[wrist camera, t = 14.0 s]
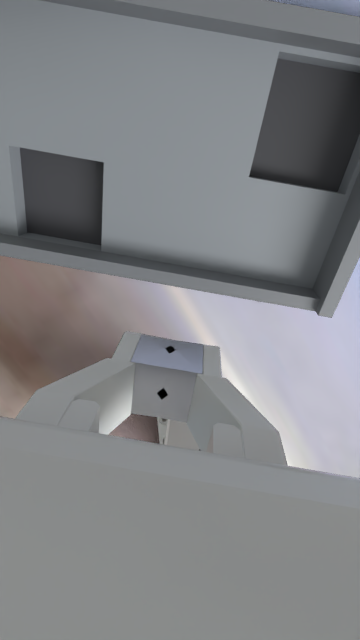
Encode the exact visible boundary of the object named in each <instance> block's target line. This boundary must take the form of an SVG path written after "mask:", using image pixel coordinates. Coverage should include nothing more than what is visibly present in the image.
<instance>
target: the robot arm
mask: <svg viewBox="0 0 360 640" xmlns="http://www.w3.org/2000/svg"><path fill="white" fill-rule="evenodd" d="M131 413H132V414H139V415H146V416H153V417H157V422H158V432H159V442H160V444H158V443H152V442H146V441H141V440H135V439H129V438H123V437H117V436H112V435H108V434H109V433H110V432H111V431H112V430H114V429H115V428H116V427H117V426H118V425H119V424H120V423H122V422H123V421H124V420H125V419H126V418H127V417H129V416H130V415H131ZM164 418H165V419H164ZM0 640H360V478H356V477H350V476H344V475H338V474H332V473H327V472H321V471H315V470H309V469H303V468H297V467H292V466H288V465H287V461H286V457H285V453H284V449H283V446H282V442H281V438H280V434H279V432H278V431H277V430H276V429H275V428H274V426H273V425H272V424H271V423H270V422H269V421H268V420H267V419H266V418H265V417H264V416H263V415H262V414H261V413H260V412H259V411H258V410H257V409H256V408H255V407H254V406H253V405H252V404H251V403H250V402H249V401H248V400H247V399H246V398H245V397H244V396H243V395H242V394H241V393H240V392H239V391H238V390H237V389H236V388H235V387H234V386H233V385H232V384H231V383H230V381H229V380H228V379H227V378H222V371H221V356H220V348H219V347H218V346H211V345H203V344H197V343H190V342H183V341H176V340H172V339H166V338H161V337H156V336H150V335H145V334H141V333H134V332H128V331H126V332H125V333H124V334H123V336H122V338H121V340H120V342H119V344H118V346H117V348H116V350H115V352H114V354H113V356H112V358H111V359H110V358H106V359H104V360H101V361H99V362H97V363H95V364H93V365H90V366H88V367H86V368H84V369H82V370H80V371H77V372H75V373H73V374H71V375H69V376H66V377H64V378H62V379H60V380H58V381H56V382H53V383H51V384H49V385H47V386H45V387H42V388H40V389H38V390H36V392H35V393H34V394H33V396H32V397H31V398H30V400H29V401H28V402H27V404H26V405H25V406H24V407H23V409H22V410H21V411H20V413H19V414H18V415H17V417H16V418H15V419H13V418H7V417H1V416H0Z"/></svg>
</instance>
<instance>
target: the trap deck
mask: <svg viewBox="0 0 360 640" xmlns="http://www.w3.org/2000/svg"><path fill="white" fill-rule="evenodd" d="M0 255H1V256H7V257H12V258H18V259H24V260H29V261H35V262H41V263H46V264H52V265H57V266H63V267H69V268H74V269H80V270H86V271H91V272H97V273H103V274H108V275H114V276H119V277H125V278H131V279H136V280H142V281H148V282H153V283H159V284H165V285H170V286H176V287H181V288H187V289H193V290H198V291H204V292H210V293H215V294H221V295H227V296H232V297H238V298H243V299H249V300H255V301H260V302H266V303H272V304H277V305H283V306H289V307H294V308H300V309H305V310H311V311H316V313H317V314H318V315H319V316H324V317H330V318H332V316H333V314H334V312H335V310H336V307H337V305H338V303H339V301H340V299H341V297H342V294H343V292H344V290H345V288H346V286H347V283H348V281H349V279H350V277H351V275H352V272H353V270H354V268H355V266H356V264H357V262H358V259H359V257H360V17H358V16H352V15H347V14H341V13H335V12H330V11H324V10H319V9H313V8H308V7H302V6H296V5H291V4H285V3H280V2H274V1H269V0H0Z"/></svg>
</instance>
